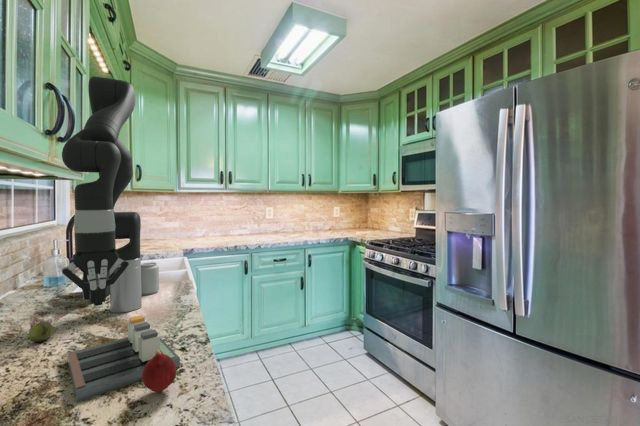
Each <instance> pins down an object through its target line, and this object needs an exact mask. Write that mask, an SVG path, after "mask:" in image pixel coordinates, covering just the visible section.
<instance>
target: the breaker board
mask: <svg viewBox="0 0 640 426" xmlns="http://www.w3.org/2000/svg"><path fill="white" fill-rule="evenodd" d="M160 352H161V353H163V354H165V355H168V356H169V357H170V358H171V359H172V360H173V361H174V362H175V364H176V369H179V368H180V367H181V358H180V356H179V355H178V354H177V353H176V352H175V351H174V350H173V349H172V348H171V347H170V346H169V345H168V344H167V343H166V342H165V341H164V339H162V337H160ZM66 354H67V365H68V369H69V374H70V377H71V382H72V386H73V390H74V395H75V400H76V403H79V402H82V401H84V400H88V399H90V398H93V397H96V396H99V395H102V394H105V393H108V392H110V391H113V390H117V389H121V388H123V387H125V386H128V385H131V384H134V383H137V382H140V381H143V380H142V373H143V370H144V368H145V366H146V364H147V363H148V361H149V360H147V361H144V362H142V361H141V359H140V358H139V351H138V352H135V351H134V349H133V348H132V343H130V341H129V340H128V337H125V338H122V339H121V338H120V339H117V340H113V341H109V342H105V343H102V344H98V345H94V346H90V347H86V348H82V349H79V350H78V349H77V350H75V351H70V352H67V353H66ZM139 380H140V381H139ZM136 381H137V382H136ZM133 382H134V383H133ZM130 383H131V384H130Z"/></svg>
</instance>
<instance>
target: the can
mask: <svg viewBox="0 0 640 426" xmlns="http://www.w3.org/2000/svg"><path fill="white" fill-rule="evenodd" d="M141 290H142V295H144V296H146V295H147V296H149V295H153V294H157V293H156V292H159V291H160V267H159V265H158V264H157V262H153V261H152V262H144V263H142V262H141Z"/></svg>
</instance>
